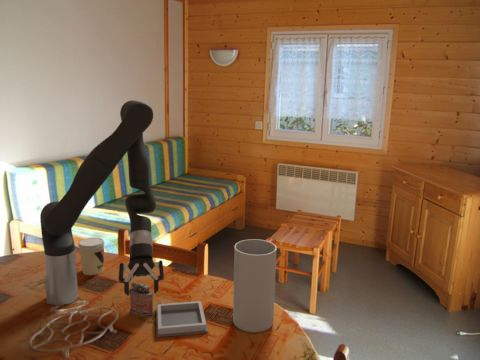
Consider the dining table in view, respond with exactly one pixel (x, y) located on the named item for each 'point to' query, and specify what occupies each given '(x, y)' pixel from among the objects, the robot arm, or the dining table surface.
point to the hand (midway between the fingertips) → (141, 293)
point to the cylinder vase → (254, 285)
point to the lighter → (141, 300)
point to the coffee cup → (92, 255)
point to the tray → (180, 319)
